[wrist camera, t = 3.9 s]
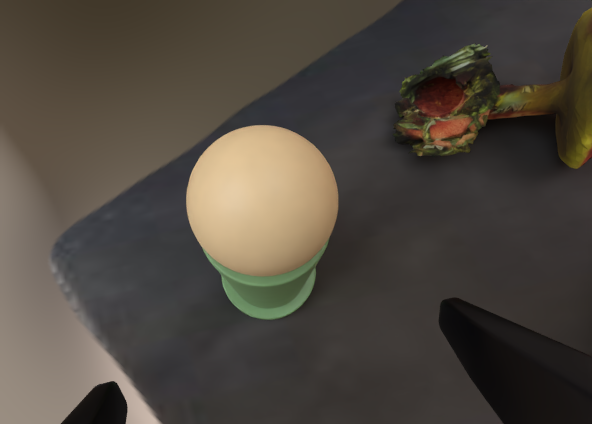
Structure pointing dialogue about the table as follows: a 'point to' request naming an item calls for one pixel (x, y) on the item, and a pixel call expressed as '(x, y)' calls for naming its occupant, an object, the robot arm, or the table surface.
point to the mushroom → (497, 101)
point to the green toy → (263, 216)
